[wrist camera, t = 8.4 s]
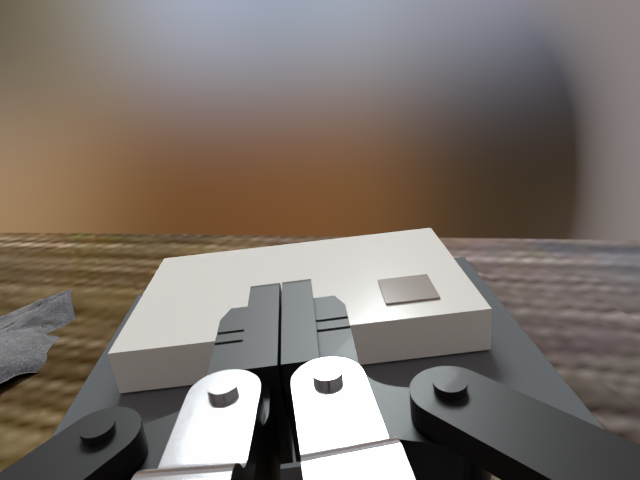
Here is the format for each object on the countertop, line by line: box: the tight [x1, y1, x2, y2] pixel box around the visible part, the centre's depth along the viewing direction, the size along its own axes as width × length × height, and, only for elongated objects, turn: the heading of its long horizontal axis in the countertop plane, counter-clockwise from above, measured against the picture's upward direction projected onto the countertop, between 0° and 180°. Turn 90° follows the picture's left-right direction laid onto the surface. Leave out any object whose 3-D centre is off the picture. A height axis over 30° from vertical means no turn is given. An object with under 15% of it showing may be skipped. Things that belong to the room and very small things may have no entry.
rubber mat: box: [51, 257, 603, 480], centre depth 24 cm, size 20×15×1 cm
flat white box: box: [108, 228, 492, 393], centre depth 26 cm, size 16×2×10 cm
